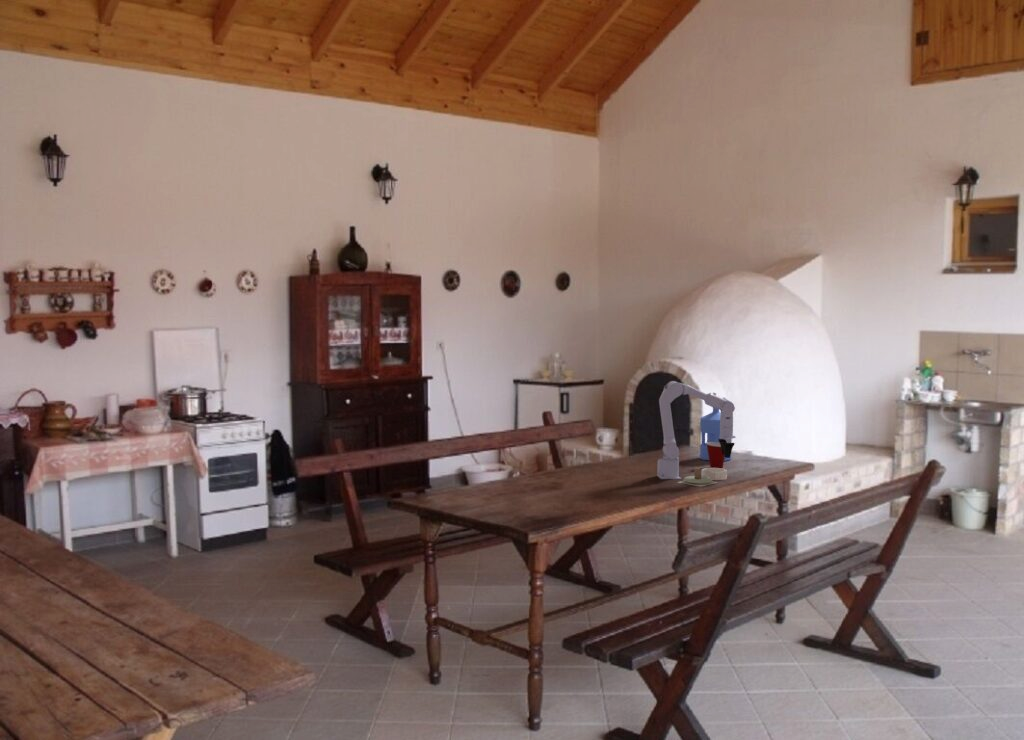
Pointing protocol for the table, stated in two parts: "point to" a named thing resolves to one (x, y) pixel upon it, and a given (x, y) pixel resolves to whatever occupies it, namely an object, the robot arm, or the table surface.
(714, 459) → the plastic cup
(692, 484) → the mat
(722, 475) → the white low cylinder
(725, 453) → the robot arm
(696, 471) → the lid
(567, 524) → the table surface
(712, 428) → the water jug
